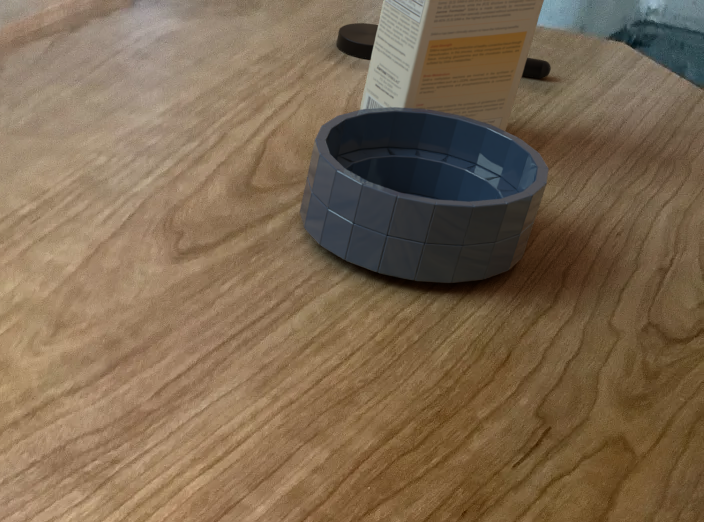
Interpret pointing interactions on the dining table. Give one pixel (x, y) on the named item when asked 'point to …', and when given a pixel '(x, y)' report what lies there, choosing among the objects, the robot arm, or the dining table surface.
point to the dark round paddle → (362, 39)
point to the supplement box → (451, 56)
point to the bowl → (422, 194)
